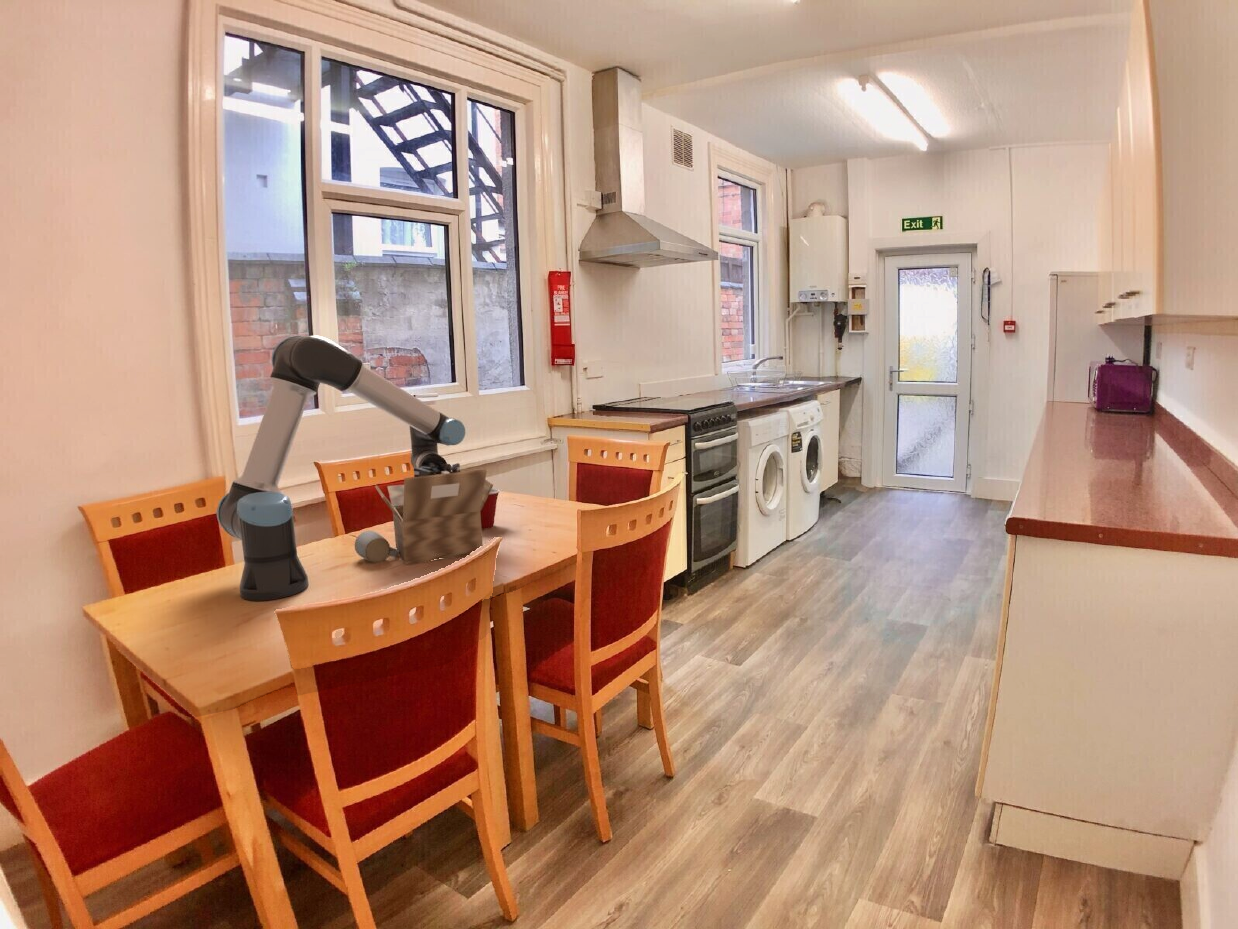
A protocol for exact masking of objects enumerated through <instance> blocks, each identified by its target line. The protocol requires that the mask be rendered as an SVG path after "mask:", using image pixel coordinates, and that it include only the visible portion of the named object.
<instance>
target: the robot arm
mask: <svg viewBox="0 0 1238 929" xmlns="http://www.w3.org/2000/svg"><path fill="white" fill-rule="evenodd" d="M271 365H272V368H273V369H272V372H271V374H270V377H269V380H270V382H271V384H272V386H273V388H272V391H271V394H270V396H269V398H268V402H267V404H266V408H265V411H264V413H263V415H262V419H261V421H260V424H259V427H258V430H257V433H256V436H255V438H254V441H253V444H252V447H251V450H250V453H249V455H248V458H247V461H246V464H245V466H244V470H243V472H242V475H241V476H239V477H237V478H235V479H233V480H232V483H231V486H230V489H229V492H228V493H227V494H225V495H224V496H223V497H222V498H221V499H220V500H219V503H218V505H217V508H216V518H217V521H218V523H219V525H220V527H221V528H222V529H223V530H224V532H226V533H227V534H229V535H230V536H232V537H234V538H236V539H239V540H241V547H242V553H243V561H244V564H243V569H242V574H241V578H240V583H239V594H240V598H241V599H244V600H247V601H254V602H255V601H257V602H259V601H270V600H277V599H282V598H287V597H290V596H294V595H296V594H299V593H300V592H302V591H305V589H307V588H308V587H309V577H308V574H307V572H306V570H305V568H304V566H303V564H302V562H301V560H300V558H299V556H298V551H297V550H298V549H297V541H296V532H295V530H296V529H295V522H294V509H293V506H292V501H291V499H290V498H289V496H288V495H286V494H284V493H282V492H281V490H280V488H279V483H280V480H281V477H282V474H283V471H284V468H285V466H286V463H287V460H288V457H289V454H290V452H291V448H292V445H293V442H294V439H295V437H296V434H297V431H298V428H299V425H300V422H301V419H302V417H303V414H304V411H305V409H306V405H307V402H308V400H309V398H311V397H313V396H315V395H317V393H318V390H319V387H320V384H323V385H327V386H330V387H332V388H335V389H336V390H338V391H340V392H343V393H344V392H350V393H351V394H353V395H355V396H357V397H359V398H360V399H362V400H364V401H365V402H367V403H369V404H371V405H373V406H374V407H376V408H378V409H380V410H381V411H383V412H385V413H387V414H388V415H390V416H392V417H393V418H396V419H397V420H399V421H401V422H402V423H404V424H406V425H407V426H409V435H410V444H411V449H410V450H411V454H410V463H411V465H412V468H413V477H420V476H429V475H438V474H448V473H457V472H461V465H460V463H459V462H457V463H454V464H450V463H448V462H447V461H446V459H445V458H444V457H443V456H441V455H440V454H439V449H438V444H440V445H444V446H449V447H450V446H457V445H459V444H460V443H462V442H463V440H464V439H465V436H466V427H465V425H464V423H463V422H462V421H461V420H459V419H456V418H453V417H449V416H447V415H446V414H444V413H442V412H441V411H438V410H437V409H435V408H433V407H432V406H430V405H428V404H427V403H425V402H424V401H422V400H421V399H419V398H417V396H416V397H415V396H414V395H412V394H411V393H409V392H408V391H406V390H404V389H403V388H401V387H399V386H398V385H396V384H395V383H393V382H391V381H390V380H388V379H386V378H384V377H383V376H381V375H380V374H378V373H377V372H374V371H373V370H371V369H370V368H369V367H367V366H365V365H364V361H363V359H361V357H358V356H356V355H354V353H352V352H350V351H349V350H347V349H346V348H344V347H343V346H341V345H339V344H338V343H336V342H334V341H333V340H331V339H329V338H327V337H324V336H321V335H293V336H289V337H287V338H285V339H283V340H281V341H279V343H277V344H276V346H275V347H274V349H273V351H272V355H271Z"/></svg>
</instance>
